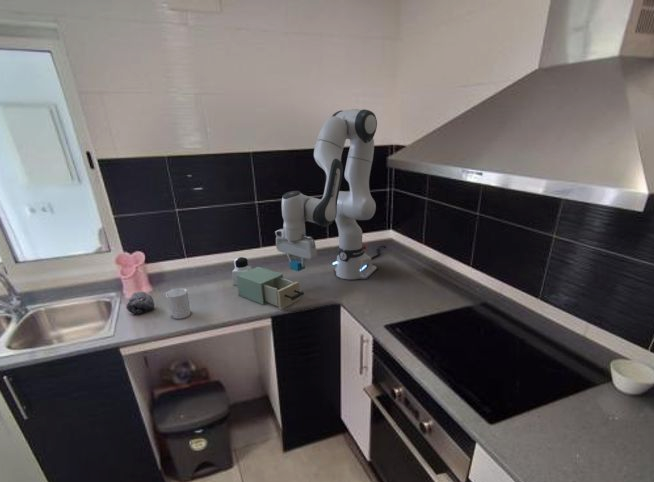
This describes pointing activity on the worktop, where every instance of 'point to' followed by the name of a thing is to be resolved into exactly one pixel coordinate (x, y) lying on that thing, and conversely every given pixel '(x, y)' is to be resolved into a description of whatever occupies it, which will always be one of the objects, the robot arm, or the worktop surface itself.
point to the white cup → (178, 303)
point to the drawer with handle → (281, 292)
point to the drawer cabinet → (255, 283)
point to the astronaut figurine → (240, 268)
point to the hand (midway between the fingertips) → (297, 264)
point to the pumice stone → (140, 303)
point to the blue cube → (296, 265)
